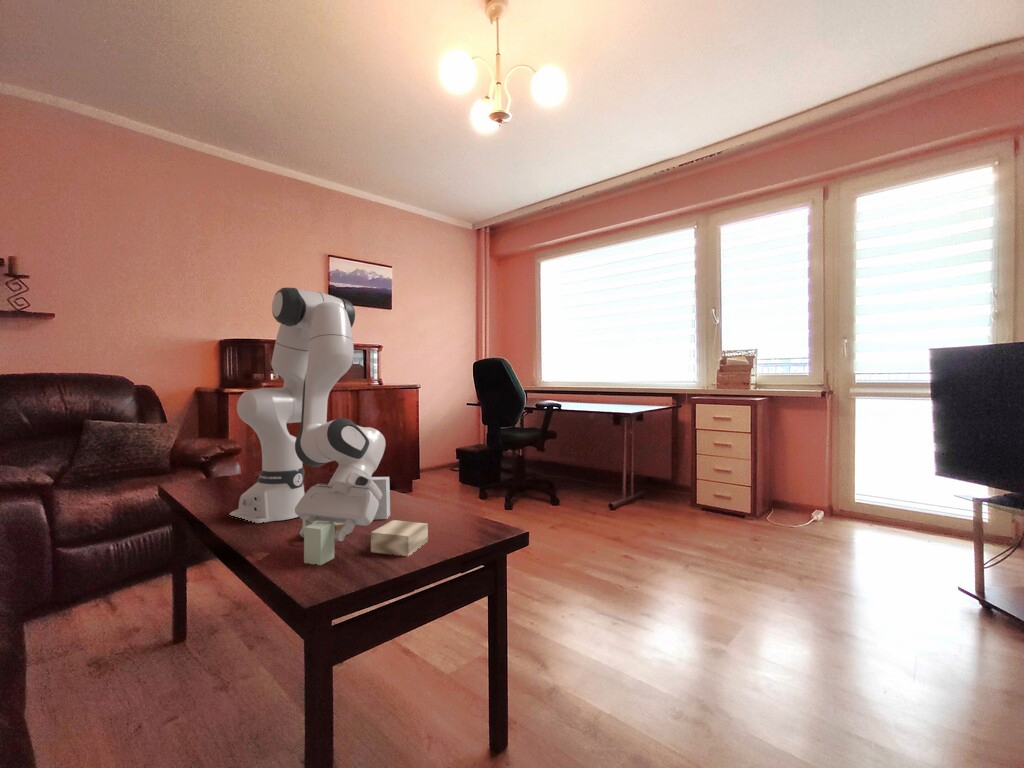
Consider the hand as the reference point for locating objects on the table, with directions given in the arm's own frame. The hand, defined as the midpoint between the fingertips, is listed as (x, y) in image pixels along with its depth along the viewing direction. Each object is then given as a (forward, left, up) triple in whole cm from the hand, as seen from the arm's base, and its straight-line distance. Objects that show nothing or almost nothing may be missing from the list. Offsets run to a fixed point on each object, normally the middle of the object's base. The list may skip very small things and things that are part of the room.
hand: (320, 537), depth 101 cm
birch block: (+13, +13, -5) cm, 19 cm away
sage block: (0, 0, -5) cm, 5 cm away
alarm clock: (-11, +15, -6) cm, 19 cm away
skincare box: (-6, +32, -5) cm, 33 cm away
